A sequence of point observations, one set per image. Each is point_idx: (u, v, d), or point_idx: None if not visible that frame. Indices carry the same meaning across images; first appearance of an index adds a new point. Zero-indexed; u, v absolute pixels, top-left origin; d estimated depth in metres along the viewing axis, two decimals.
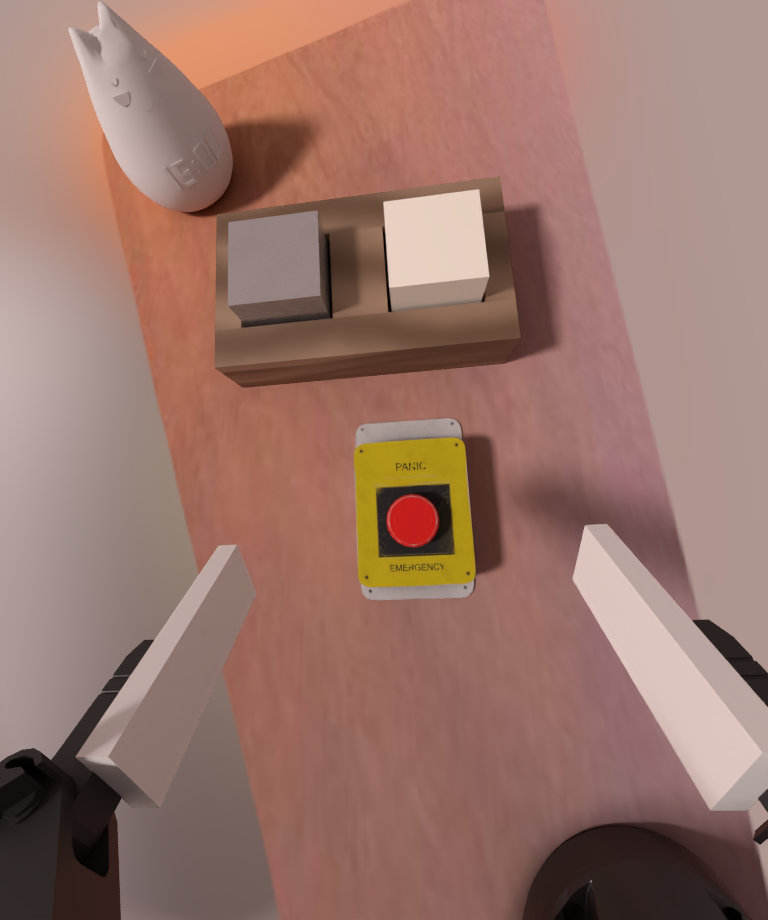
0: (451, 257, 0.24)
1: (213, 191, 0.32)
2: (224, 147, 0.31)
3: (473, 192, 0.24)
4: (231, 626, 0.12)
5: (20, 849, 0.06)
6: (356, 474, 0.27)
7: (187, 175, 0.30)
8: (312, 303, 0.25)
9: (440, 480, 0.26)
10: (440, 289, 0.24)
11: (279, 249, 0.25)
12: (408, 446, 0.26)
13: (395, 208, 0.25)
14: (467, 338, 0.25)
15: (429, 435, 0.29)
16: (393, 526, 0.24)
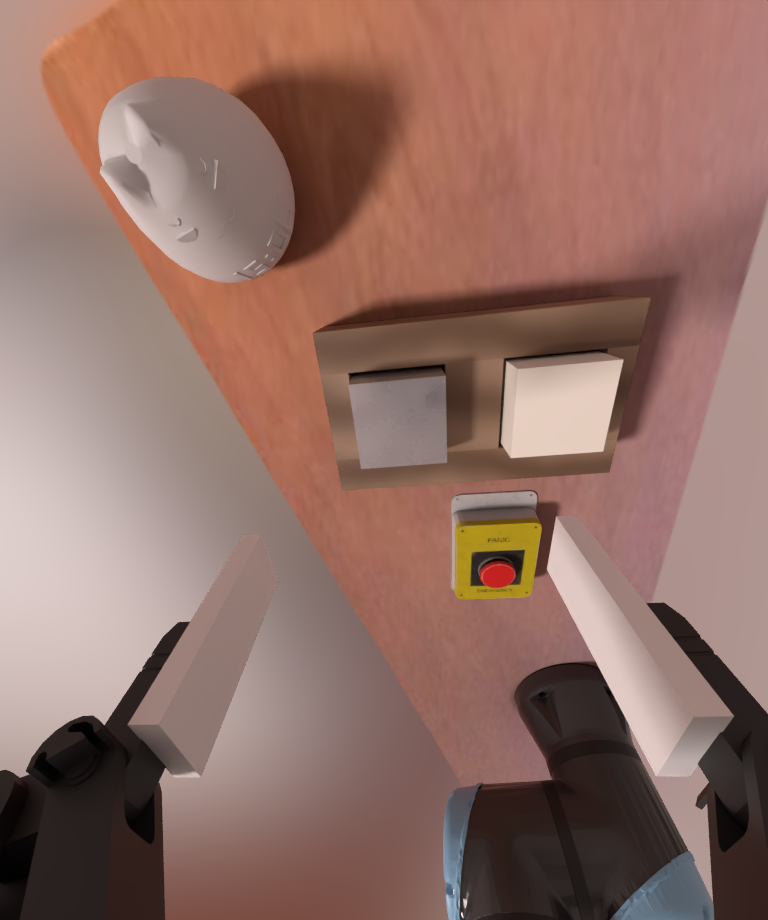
0: (574, 432, 0.25)
1: None
2: (292, 200, 0.22)
3: (616, 363, 0.23)
4: (257, 611, 0.12)
5: (79, 809, 0.06)
6: (458, 544, 0.36)
7: (260, 268, 0.23)
8: None
9: (519, 548, 0.36)
10: None
11: (405, 418, 0.25)
12: (499, 528, 0.35)
13: (530, 377, 0.23)
14: (564, 471, 0.30)
15: (510, 503, 0.37)
16: (484, 579, 0.37)
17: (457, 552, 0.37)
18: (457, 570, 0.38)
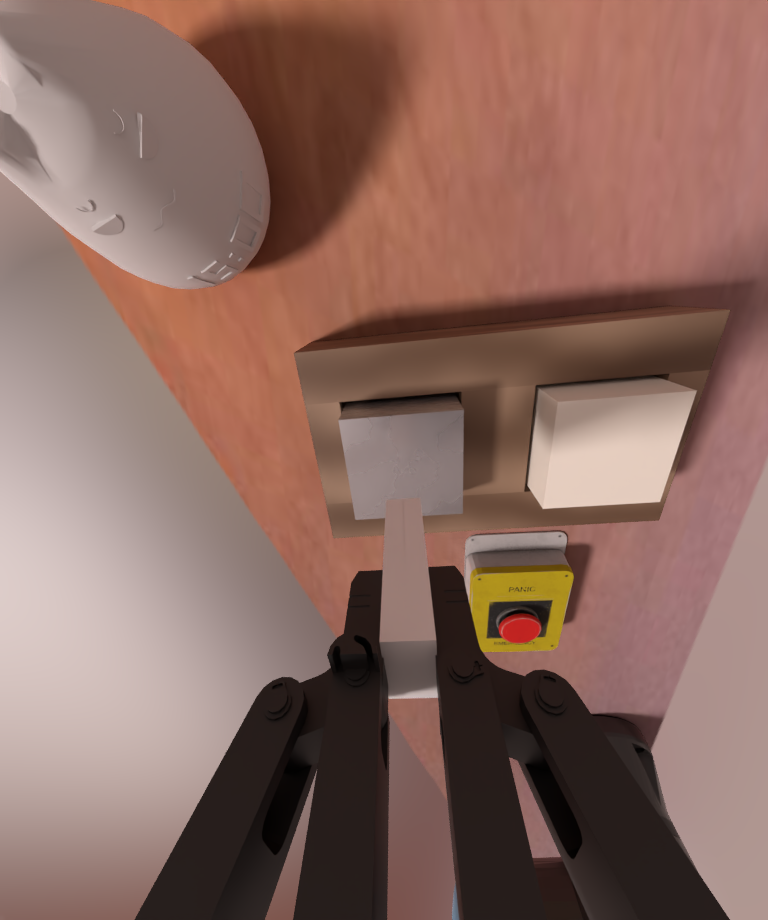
0: (625, 479, 0.20)
1: None
2: (264, 182, 0.17)
3: (687, 395, 0.17)
4: None
5: (354, 710, 0.08)
6: (473, 593, 0.31)
7: (224, 271, 0.18)
8: None
9: (545, 598, 0.31)
10: None
11: (412, 460, 0.20)
12: (523, 576, 0.30)
13: (572, 412, 0.18)
14: (603, 519, 0.24)
15: (535, 545, 0.31)
16: (504, 634, 0.31)
17: (472, 602, 0.31)
18: None
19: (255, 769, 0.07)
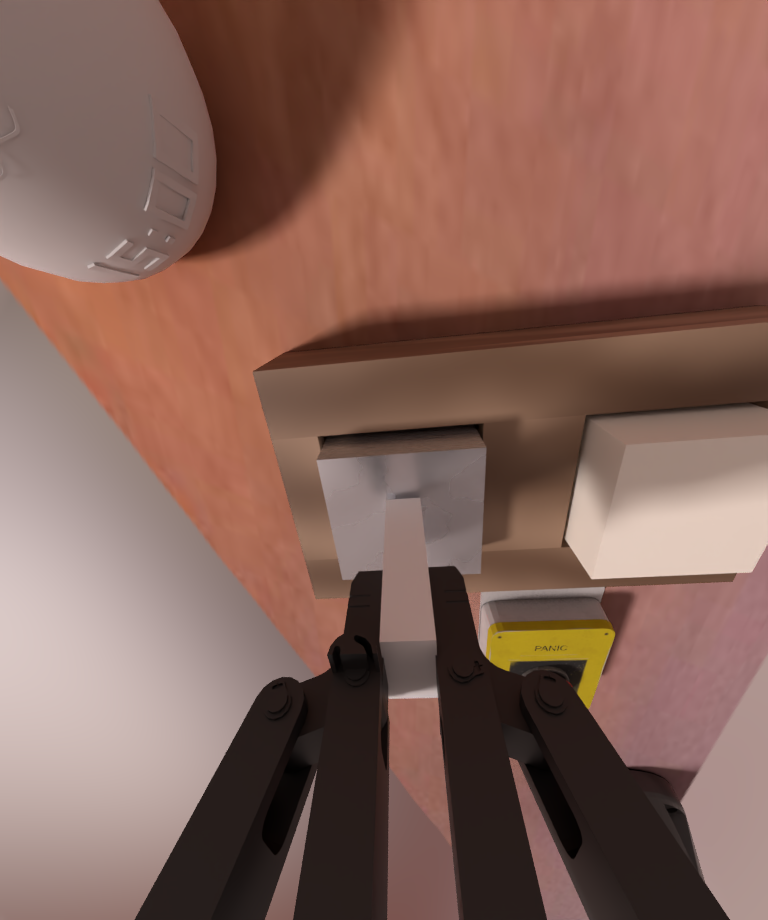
0: (708, 544, 0.15)
1: (196, 237, 0.14)
2: (198, 123, 0.11)
3: None
4: None
5: (354, 710, 0.08)
6: (491, 653, 0.25)
7: (146, 256, 0.12)
8: None
9: (579, 657, 0.25)
10: None
11: None
12: (553, 634, 0.24)
13: (646, 459, 0.13)
14: (661, 580, 0.19)
15: (566, 593, 0.26)
16: None
17: (490, 661, 0.26)
18: None
19: (255, 769, 0.07)
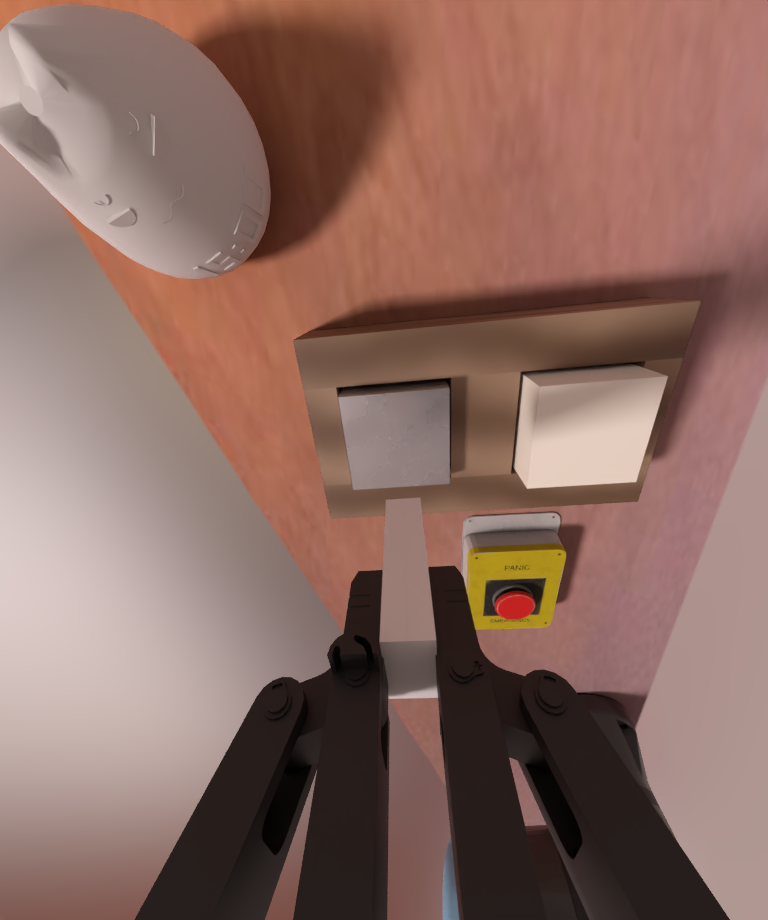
0: (603, 460, 0.21)
1: None
2: (265, 177, 0.18)
3: (659, 381, 0.19)
4: None
5: (354, 710, 0.08)
6: (470, 572, 0.32)
7: (227, 261, 0.19)
8: None
9: (539, 576, 0.32)
10: None
11: (403, 434, 0.22)
12: (518, 555, 0.31)
13: (553, 397, 0.19)
14: (585, 500, 0.26)
15: (530, 525, 0.33)
16: (500, 611, 0.33)
17: (470, 580, 0.33)
18: (469, 599, 0.34)
19: (255, 769, 0.07)
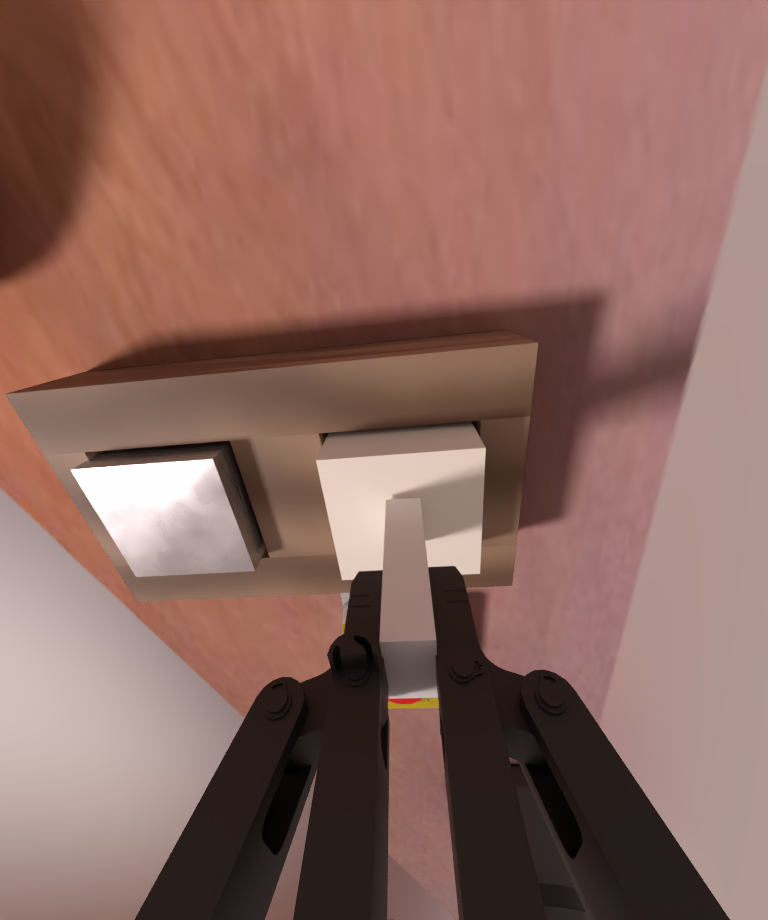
0: (430, 548, 0.16)
1: None
2: None
3: (474, 454, 0.14)
4: None
5: (354, 710, 0.08)
6: None
7: None
8: None
9: None
10: None
11: (174, 514, 0.17)
12: None
13: (338, 473, 0.14)
14: None
15: None
16: None
17: None
18: None
19: (255, 769, 0.07)
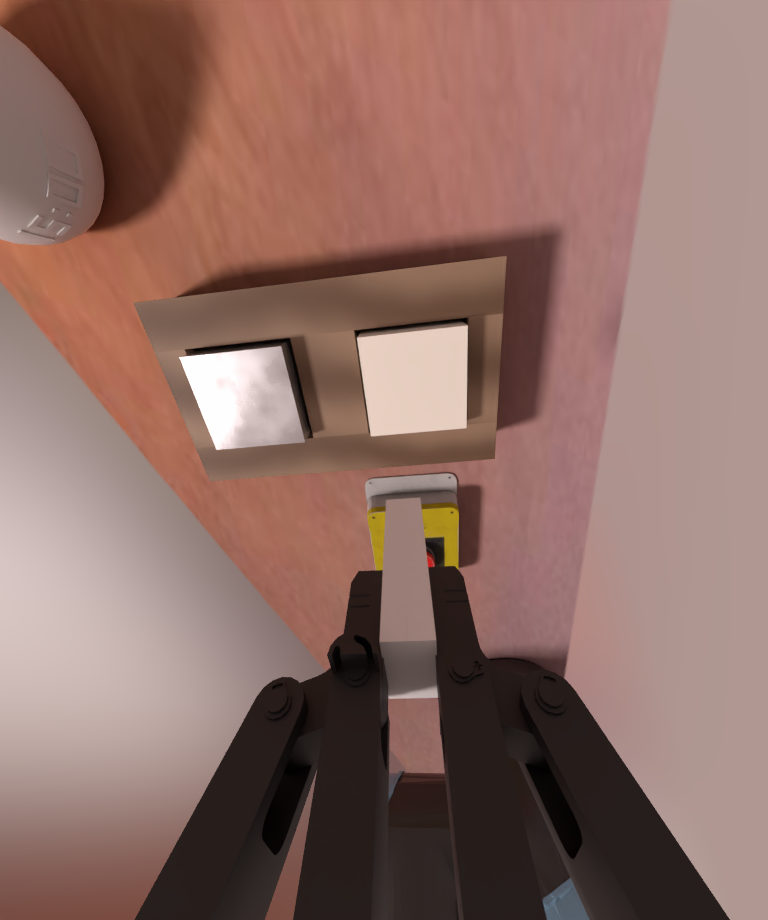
0: (431, 407, 0.23)
1: (94, 214, 0.22)
2: (78, 142, 0.19)
3: (460, 330, 0.21)
4: None
5: (354, 710, 0.08)
6: (371, 532, 0.33)
7: (55, 226, 0.20)
8: None
9: (437, 535, 0.33)
10: None
11: (249, 393, 0.23)
12: None
13: (371, 347, 0.22)
14: (445, 458, 0.27)
15: (428, 487, 0.34)
16: None
17: (372, 540, 0.34)
18: (375, 560, 0.35)
19: (255, 769, 0.07)
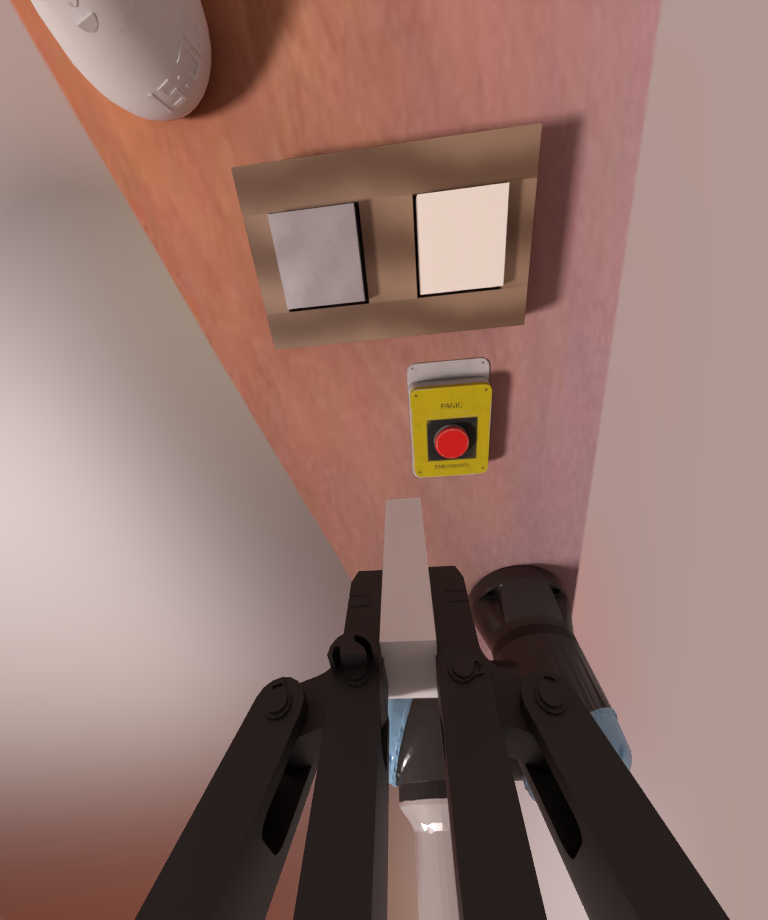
0: (475, 264, 0.28)
1: (200, 95, 0.26)
2: (201, 23, 0.24)
3: (503, 187, 0.25)
4: None
5: (354, 710, 0.08)
6: (412, 412, 0.37)
7: (175, 94, 0.25)
8: None
9: (472, 414, 0.37)
10: None
11: (322, 250, 0.28)
12: (451, 391, 0.36)
13: (428, 203, 0.26)
14: (481, 324, 0.31)
15: (464, 372, 0.38)
16: (439, 447, 0.38)
17: (412, 421, 0.38)
18: (414, 442, 0.39)
19: (255, 769, 0.07)
